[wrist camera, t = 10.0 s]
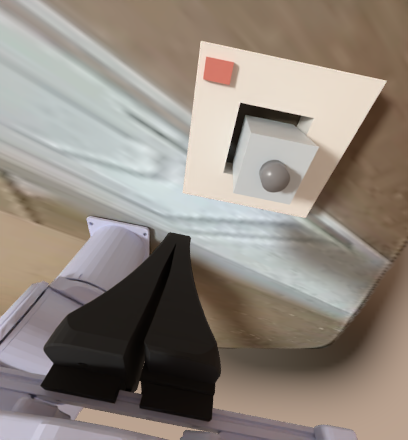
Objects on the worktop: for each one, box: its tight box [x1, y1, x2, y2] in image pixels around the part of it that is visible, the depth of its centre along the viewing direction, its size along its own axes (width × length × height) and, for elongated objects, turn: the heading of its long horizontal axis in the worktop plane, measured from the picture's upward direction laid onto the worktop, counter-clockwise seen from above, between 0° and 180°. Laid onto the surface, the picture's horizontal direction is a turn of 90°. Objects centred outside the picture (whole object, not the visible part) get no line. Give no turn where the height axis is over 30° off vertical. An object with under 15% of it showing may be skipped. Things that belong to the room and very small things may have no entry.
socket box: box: [183, 41, 387, 218], centre depth 17 cm, size 11×12×3 cm
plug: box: [233, 115, 319, 205], centre depth 15 cm, size 4×4×8 cm
